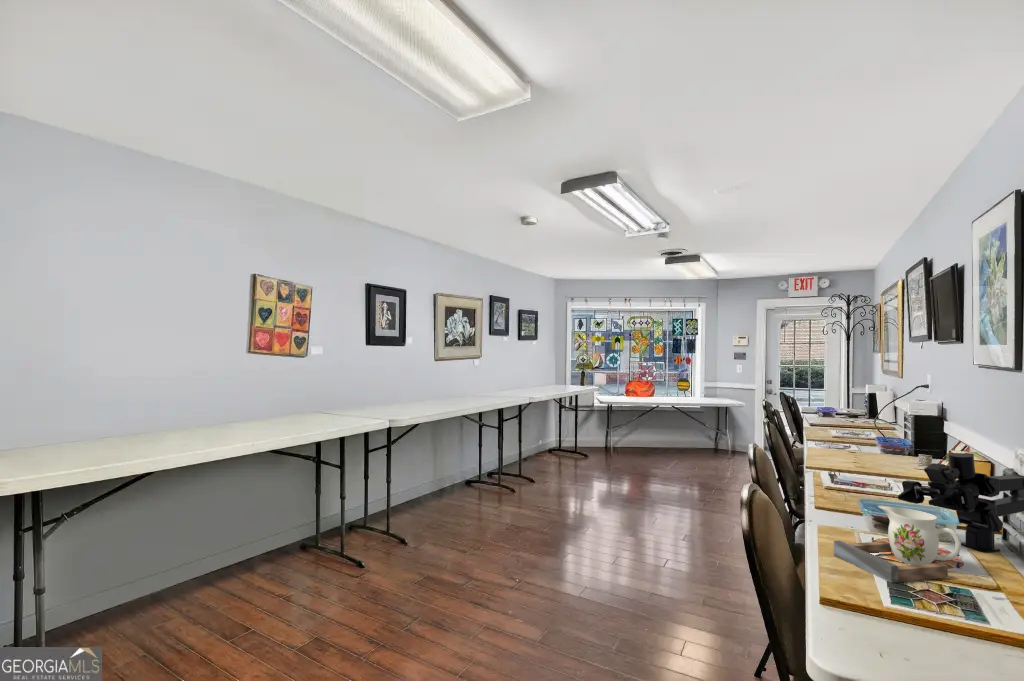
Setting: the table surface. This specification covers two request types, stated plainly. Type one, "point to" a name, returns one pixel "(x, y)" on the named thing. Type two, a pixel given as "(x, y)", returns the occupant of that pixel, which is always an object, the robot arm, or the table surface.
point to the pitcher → (916, 536)
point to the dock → (886, 562)
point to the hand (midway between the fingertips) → (913, 500)
